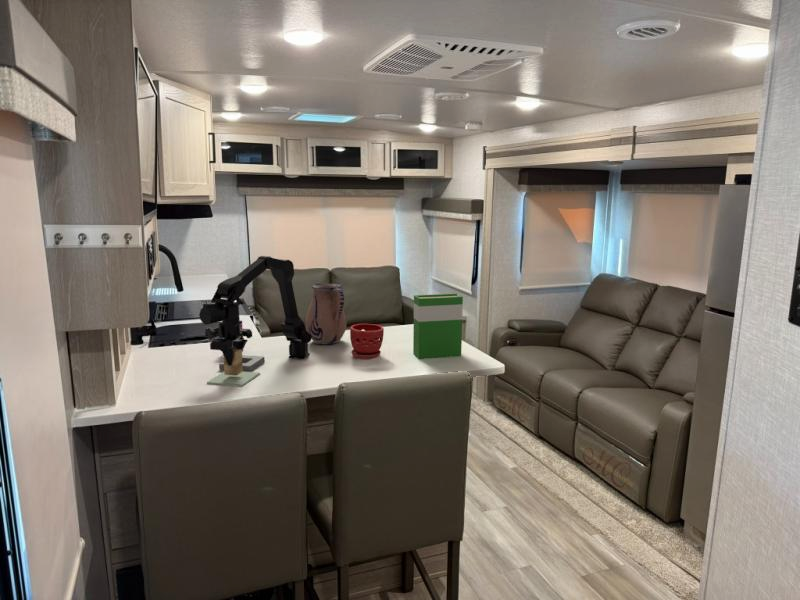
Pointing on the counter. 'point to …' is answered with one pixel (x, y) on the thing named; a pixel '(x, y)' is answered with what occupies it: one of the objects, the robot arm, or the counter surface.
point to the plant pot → (366, 340)
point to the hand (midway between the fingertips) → (233, 363)
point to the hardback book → (437, 326)
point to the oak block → (234, 364)
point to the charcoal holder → (248, 363)
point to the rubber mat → (234, 379)
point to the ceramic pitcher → (326, 314)
